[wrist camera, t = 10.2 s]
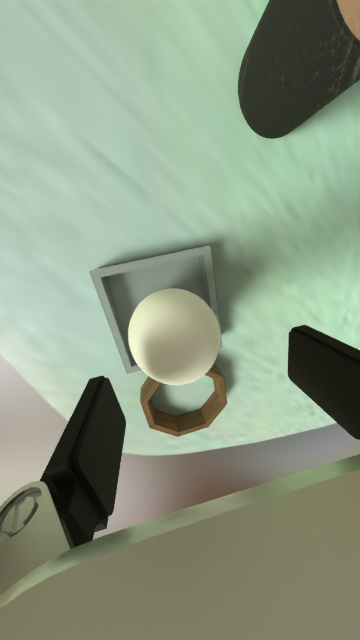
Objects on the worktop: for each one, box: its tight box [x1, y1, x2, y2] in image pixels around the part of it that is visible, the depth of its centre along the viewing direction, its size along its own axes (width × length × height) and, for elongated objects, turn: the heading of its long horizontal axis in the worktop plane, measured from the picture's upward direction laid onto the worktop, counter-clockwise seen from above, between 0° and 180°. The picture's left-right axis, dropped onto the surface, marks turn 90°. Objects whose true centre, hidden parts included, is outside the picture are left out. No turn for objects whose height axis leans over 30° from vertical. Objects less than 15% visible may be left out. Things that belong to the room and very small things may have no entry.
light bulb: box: [128, 288, 220, 385], centre depth 15 cm, size 7×7×11 cm
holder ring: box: [141, 365, 227, 437], centre depth 24 cm, size 10×10×2 cm
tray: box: [89, 246, 223, 374], centre depth 20 cm, size 11×11×3 cm
